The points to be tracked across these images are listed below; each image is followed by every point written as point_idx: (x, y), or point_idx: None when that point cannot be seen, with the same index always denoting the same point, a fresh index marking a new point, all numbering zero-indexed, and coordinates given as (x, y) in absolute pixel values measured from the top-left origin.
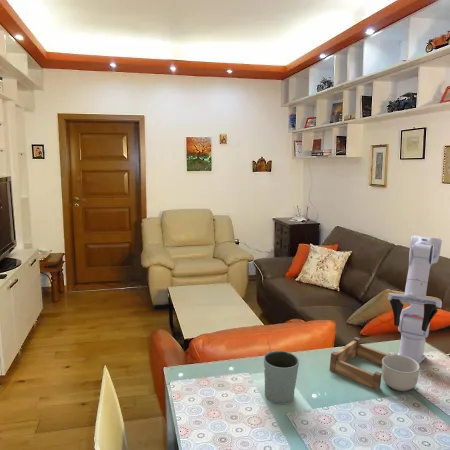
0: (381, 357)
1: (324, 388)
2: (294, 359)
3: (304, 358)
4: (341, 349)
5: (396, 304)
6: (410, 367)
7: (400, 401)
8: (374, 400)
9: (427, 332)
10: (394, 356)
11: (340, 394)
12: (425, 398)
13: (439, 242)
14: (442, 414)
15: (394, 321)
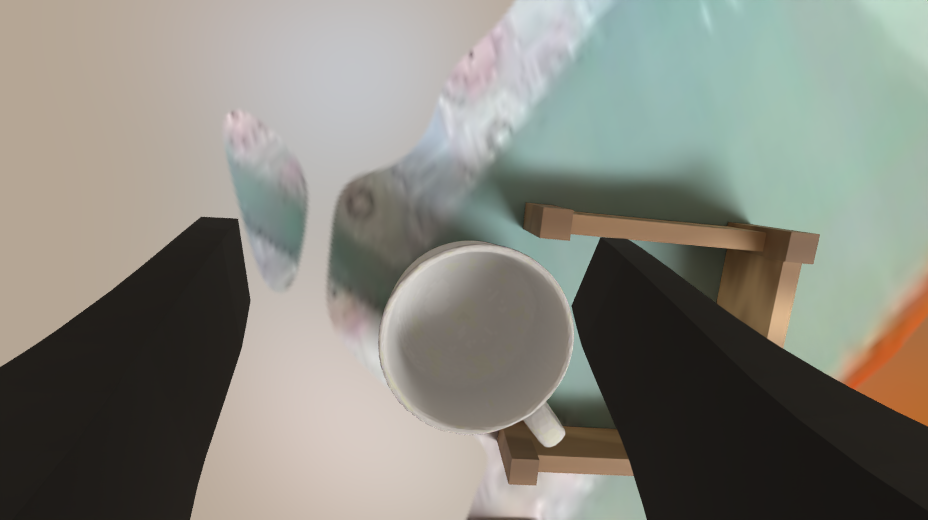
0: (589, 446)
1: (721, 54)
2: None
3: (876, 243)
4: (782, 327)
5: (897, 472)
6: (439, 399)
7: (420, 184)
8: (513, 113)
9: None
10: (528, 403)
11: (648, 56)
12: (342, 283)
13: None
14: (251, 206)
15: (651, 256)
